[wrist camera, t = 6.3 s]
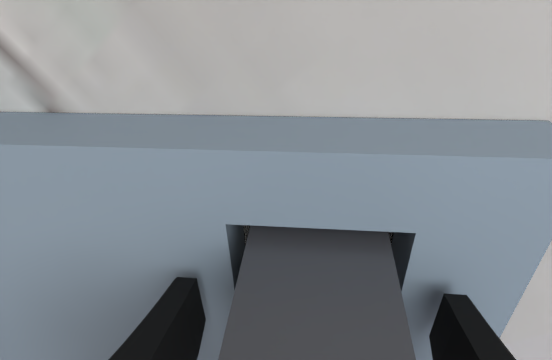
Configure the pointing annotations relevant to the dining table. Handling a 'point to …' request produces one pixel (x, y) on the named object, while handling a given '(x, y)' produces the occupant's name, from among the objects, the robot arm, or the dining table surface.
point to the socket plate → (253, 214)
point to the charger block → (317, 298)
